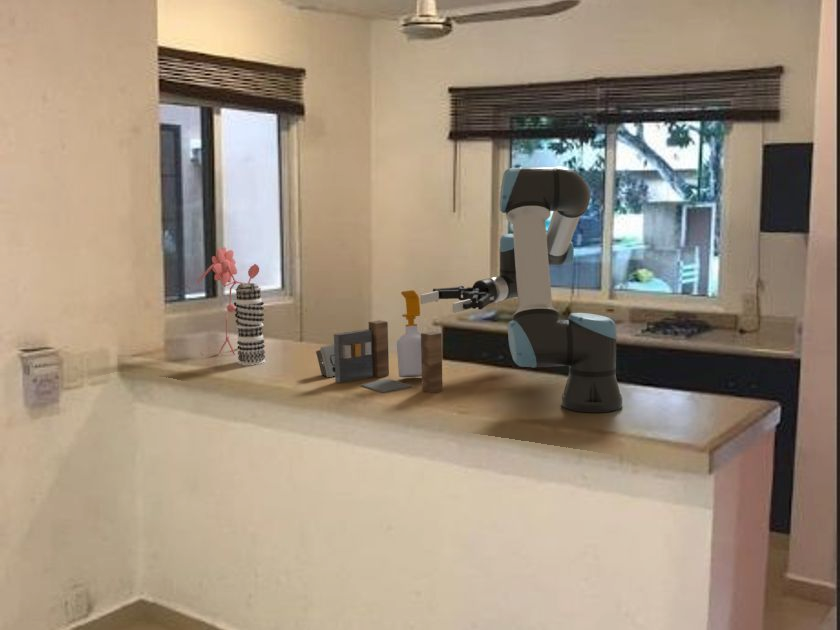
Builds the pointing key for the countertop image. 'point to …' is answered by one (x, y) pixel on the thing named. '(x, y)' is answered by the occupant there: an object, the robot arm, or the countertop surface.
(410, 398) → the countertop surface
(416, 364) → the soap bottle
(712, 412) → the countertop surface
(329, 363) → the electrical switch
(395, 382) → the pad
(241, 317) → the decorative candle
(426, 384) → the gate
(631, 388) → the countertop surface
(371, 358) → the breaker panel
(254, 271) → the figurine
